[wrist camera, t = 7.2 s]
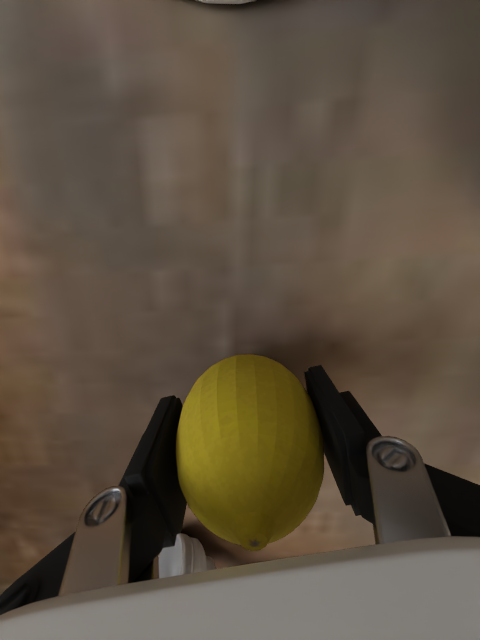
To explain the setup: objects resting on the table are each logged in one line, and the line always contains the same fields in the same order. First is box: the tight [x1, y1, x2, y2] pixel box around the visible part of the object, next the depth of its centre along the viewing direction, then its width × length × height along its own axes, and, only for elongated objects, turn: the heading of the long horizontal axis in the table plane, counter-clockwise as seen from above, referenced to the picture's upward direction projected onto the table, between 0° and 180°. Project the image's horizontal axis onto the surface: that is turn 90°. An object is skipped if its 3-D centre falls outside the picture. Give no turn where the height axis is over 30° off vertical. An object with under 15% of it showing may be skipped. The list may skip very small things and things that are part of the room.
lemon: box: [176, 354, 324, 551], centre depth 10 cm, size 6×6×8 cm
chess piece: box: [159, 533, 217, 578], centre depth 17 cm, size 4×4×10 cm
